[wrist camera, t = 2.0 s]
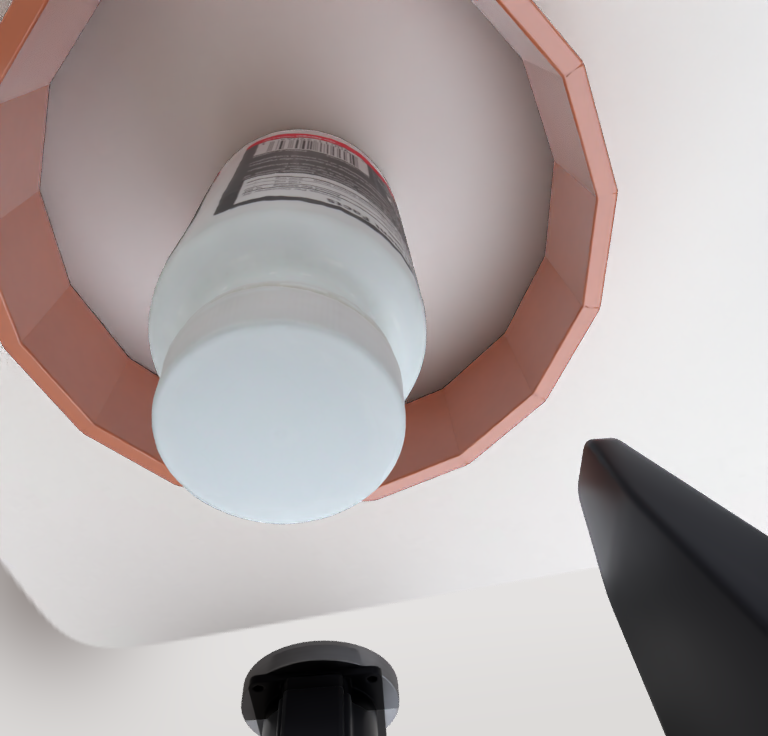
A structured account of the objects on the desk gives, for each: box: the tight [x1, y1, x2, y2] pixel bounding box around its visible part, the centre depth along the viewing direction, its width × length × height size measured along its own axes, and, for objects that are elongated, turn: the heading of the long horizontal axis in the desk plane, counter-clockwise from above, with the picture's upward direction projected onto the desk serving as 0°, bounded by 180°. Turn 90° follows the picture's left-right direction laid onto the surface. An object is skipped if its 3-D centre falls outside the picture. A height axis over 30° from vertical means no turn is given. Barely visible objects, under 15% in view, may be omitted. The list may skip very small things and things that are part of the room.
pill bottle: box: [148, 129, 427, 524], centre depth 14 cm, size 5×5×10 cm
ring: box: [0, 0, 618, 501], centre depth 17 cm, size 15×15×4 cm
